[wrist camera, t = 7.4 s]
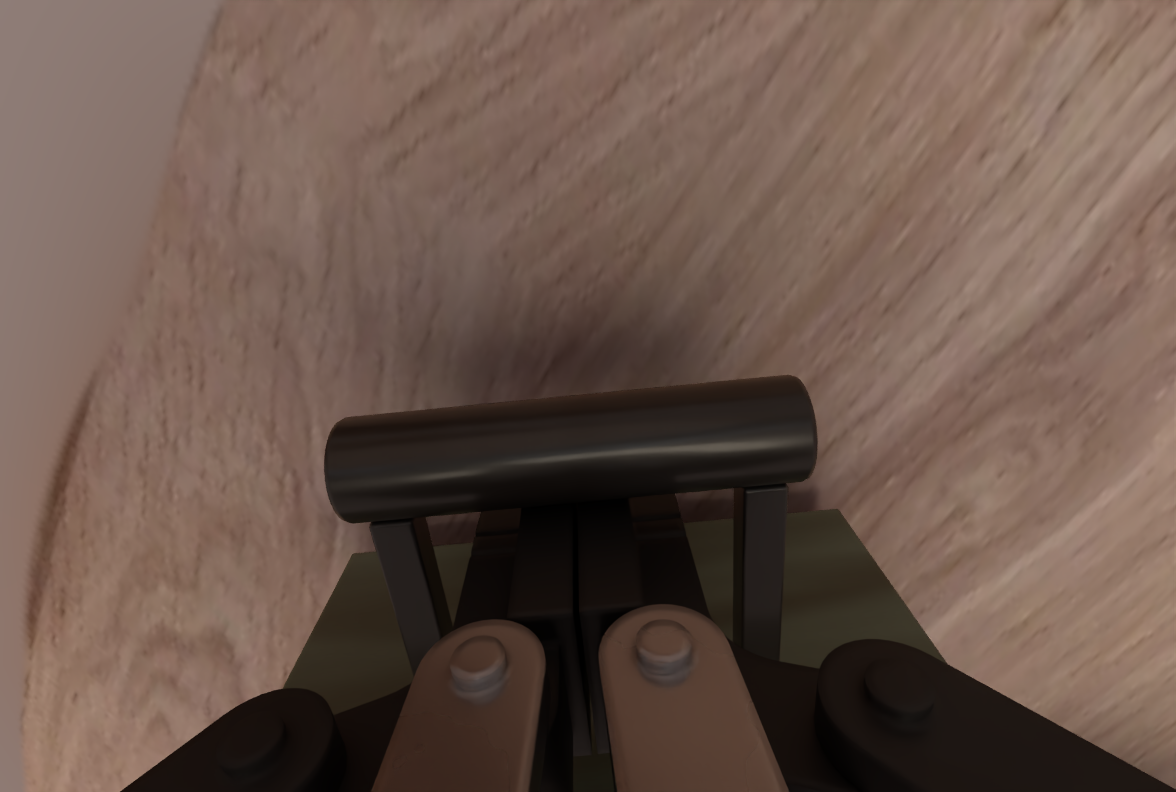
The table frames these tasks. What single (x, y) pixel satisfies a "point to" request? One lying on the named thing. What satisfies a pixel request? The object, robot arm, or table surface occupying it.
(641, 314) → the table surface
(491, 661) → the robot arm
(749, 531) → the drawer
